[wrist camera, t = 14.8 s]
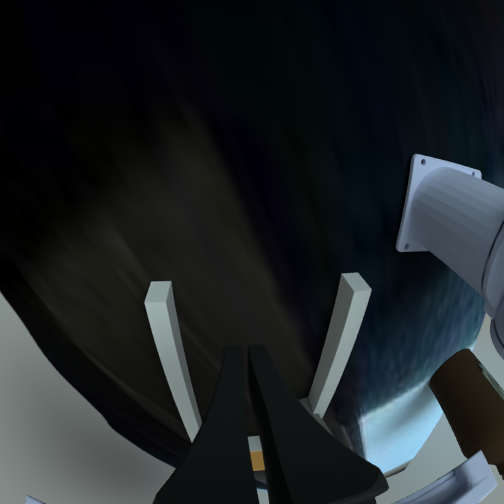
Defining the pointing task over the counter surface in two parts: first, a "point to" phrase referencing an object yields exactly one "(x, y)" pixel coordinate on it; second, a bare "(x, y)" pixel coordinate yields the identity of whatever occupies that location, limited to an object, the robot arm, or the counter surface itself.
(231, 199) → the counter surface
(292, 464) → the robot arm
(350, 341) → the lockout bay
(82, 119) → the counter surface
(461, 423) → the olive oil
